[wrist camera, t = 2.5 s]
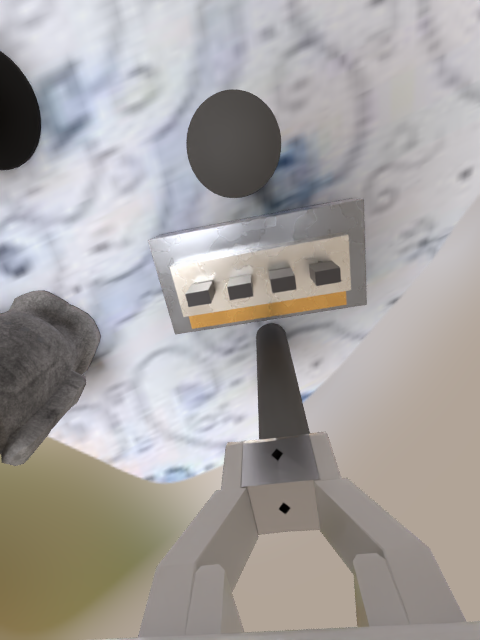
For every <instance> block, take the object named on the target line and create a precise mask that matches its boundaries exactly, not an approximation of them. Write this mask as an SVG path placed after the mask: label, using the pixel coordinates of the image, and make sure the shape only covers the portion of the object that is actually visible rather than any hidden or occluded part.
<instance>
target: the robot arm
mask: <svg viewBox="0 0 480 640" xmlns="http://www.w3.org/2000/svg"><path fill="white" fill-rule="evenodd" d="M305 530H306V531H307V530H320V532H321V533H322V534H323V535H324V537H325V538H326V539H327V541H328V542H329V543H330V545H331V546H332V547H333V549H334V550H335V551H336V552H337V554H338V555H339V556H340V558H341V559H342V560H343V562H344V563H345V564H346V565H347V567H348V568H349V569H350V571H351V572H352V573H353V575H354V588H355V602H356V617H357V627H348V628H327V629H306V630H285V631H264V632H244V629H243V626H242V623H241V620H240V617H239V614H238V610H237V607H236V604H235V601H234V598H233V595H232V592H233V590H234V588H235V585H236V583H237V581H238V579H239V577H240V575H241V573H242V571H243V569H244V566H245V564H246V562H247V560H248V558H249V556H250V554H251V552H252V550H253V548H254V546H255V543H256V541H257V539H258V535H261V534H269V533H278V532H288V531H305ZM95 640H480V621H479V622H466V620H465V618H464V616H463V614H462V612H461V610H460V608H459V606H458V604H457V602H456V600H455V598H454V596H453V594H452V592H451V590H450V588H449V586H448V584H447V582H446V580H445V578H444V576H443V574H442V572H441V570H440V568H439V566H438V564H437V562H436V560H435V558H434V556H433V554H432V552H431V550H430V548H429V547H428V546H427V545H425V544H424V543H423V542H422V541H421V540H420V539H418V538H417V537H416V536H415V535H414V534H413V533H411V532H410V531H409V530H408V529H407V528H405V527H404V526H403V525H402V524H401V523H400V522H398V521H397V520H396V519H395V518H394V517H393V516H391V515H390V514H389V513H388V512H386V511H385V510H384V509H383V508H382V507H381V506H380V505H378V504H377V503H376V502H375V501H374V500H372V499H371V498H370V497H369V496H368V495H367V494H365V493H364V492H363V491H362V490H361V489H360V488H358V487H357V486H356V485H355V484H354V483H352V482H351V481H350V480H349V479H348V478H341V476H340V472H339V469H338V466H337V463H336V459H335V456H334V453H333V450H332V447H331V444H330V441H329V437H328V434H327V433H326V432H318V433H310V434H303V435H295V436H287V437H279V438H270V439H259V440H247V441H241V442H228V443H227V445H226V449H225V458H224V467H223V477H222V486H221V490H216V491H215V492H214V494H213V495H212V496H211V498H210V499H209V500H208V501H207V503H206V504H205V505H204V507H203V508H202V509H201V510H200V512H199V513H198V514H197V516H196V517H195V518H194V519H193V521H192V522H191V523H190V525H189V526H188V527H187V528H186V530H185V531H184V532H183V534H182V535H181V536H180V537H179V539H178V540H177V541H176V543H175V544H174V545H173V546H172V548H171V549H170V550H169V551H168V553H167V554H166V555H165V557H164V558H163V559H162V560H161V562H160V563H159V564H158V565H157V567H156V571H155V575H154V578H153V582H152V586H151V590H150V593H149V597H148V601H147V605H146V609H145V613H144V616H143V620H142V624H141V628H140V631H139V635H138V638H117V639H95Z"/></svg>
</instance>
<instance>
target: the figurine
mask: <svg viewBox="0 0 480 640" xmlns="http://www.w3.org/2000/svg"><path fill="white" fill-rule="evenodd" d="M99 341H100V333H99V331H98V328H97V326H96V324H95V322H94V320H93V319H92V318H91V317H90V316H89V315H88V314H87V313H85V312H84V311H82V310H80V309H78V308H76V307H75V306H72V305H69V304H68V303H67V302H66V301H64V300H62V299H60V298H59V297H57V296H55V295H53V294H51V293H49V292H46V291H33V292H29V293H26V294H23V295H21V296H19V297H17V298H15V299H14V302H13V304H12V306H11V308H10V310H9V311H7V312H5V313H0V454H1V457H2V463H6V464H10V465H14V466H16V465H21V464H24V463H25V462H26V461H27V460H28V459H29V457H30V456H31V455H32V454H33V453H34V451H35V450H36V449H37V448H38V447H39V445H40V444H41V443H42V442H43V440H44V439H45V438H46V437H47V436H48V434H49V433H50V431H51V429H52V428H53V427H54V426H55V425H56V424H57V423H58V421H59V420H60V419H61V418H62V417H63V416H64V415H65V413H66V412H67V411H68V410H69V409H70V408H71V407H72V406H74V405H75V404H76V403H77V402H78V400H79V398H80V396H81V394H82V391H83V389H84V387H85V385H86V379H85V376H83V375H82V374H83V373H84V372H86V370H87V369H88V367H89V365H90V363H91V361H92V359H93V356H94V354H95V352H96V349H97V347H98V344H99Z"/></svg>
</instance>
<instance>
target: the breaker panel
mask: <svg viewBox="0 0 480 640" xmlns="http://www.w3.org/2000/svg"><path fill="white" fill-rule="evenodd" d="M148 243H149V246H150V250H151V253H152V257H153V260H154V264H155V267H156V270H157V274H158V277H159V281H160V284H161V287H162V291H163V294H164V298H165V301H166V304H167V308H168V311H169V315H170V318H171V322H172V325H173V328H174V332H175V334H181V333H187V332H193V331H200V330H206V329H213V328H219V327H226V326H232V325H238V324H245V323H251V322H258V321H264V320H271V319H277V318H283V317H290V316H296V315H303V314H309V313H316V312H322V311H328V310H335V309H341V308H348V307H354V306H361V305H367V298H366V263H365V229H364V199H353V198H349V199H344V200H339V201H334V202H329V203H323V204H318V205H313V206H308V207H303V208H297V209H292V210H287V211H282V212H277V213H271V214H266V215H261V216H256V217H250V218H245V219H240V220H235V221H230V222H224V223H219V224H214V225H209V226H204V227H198V228H193V229H188V230H183V231H178V232H172V233H167V234H162V235H158V236H156V237H154V238H152V239H149V240H148ZM331 260H332V261H333V262H334V263H335V264H337V265H338V266H339V267H340V272H341V282H338V283H332V284H326V285H320V286H316V285H315V284H314V282H313V281H312V279H311V278H310V271H309V264H314V263H320V262H326V261H331ZM285 268H291V269H292V271H293V273H294V275H295V280H296V290H290V291H284V292H278V293H272V289H271V284H270V277H269V271H273V270H279V269H285ZM250 274H251V277H252V283H253V297H247V298H241V299H235V300H230V298H229V294H228V289H227V285H228V281H229V278H233V277H238V276H244V275H250ZM209 281H212V282H213V286H214V291H215V295H214V298H213V300H212V303H211V304H205V305H199V306H192V307H188V303H187V299H186V295H185V293H186V292H187V290H188V289H189V287H190V286H191V285H192V284H198V283H204V282H209Z"/></svg>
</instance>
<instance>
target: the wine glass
mask: <svg viewBox="0 0 480 640" xmlns="http://www.w3.org/2000/svg"><path fill="white" fill-rule="evenodd" d="M40 130H41V120H40V112H39V107H38V103H37V100H36V97H35V94H34V92H33V90H32V87H31V85H30V84H29V82H28V80H27V79H26V77H25V76H24V74H23V73H22V72H21V70H20V69H19V68H18V66H17V65H16V64H15V63H14V62H13V61H12V60H11V59H10V58H8V57H7V56H6V55H5V54H4V53H2V52H1V51H0V170H9V169H13V168H16V167H19V166H20V165H22V164H24V163H25V162H26V161H27V160H28V159H29V158H30V157H31V156H32V154H33V153H34V151H35V149H36V147H37V145H38V141H39V137H40Z"/></svg>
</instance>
